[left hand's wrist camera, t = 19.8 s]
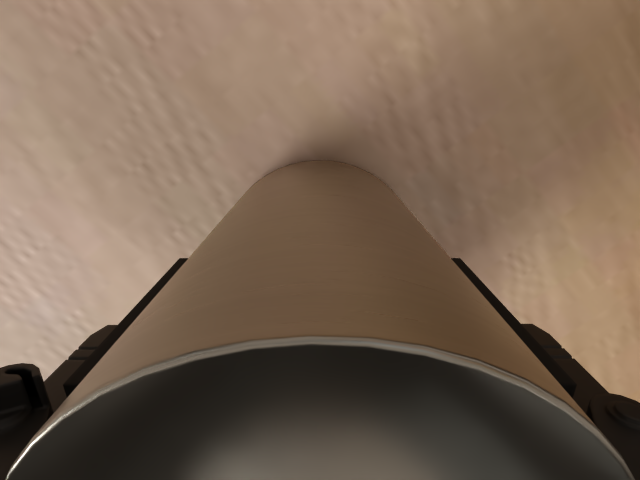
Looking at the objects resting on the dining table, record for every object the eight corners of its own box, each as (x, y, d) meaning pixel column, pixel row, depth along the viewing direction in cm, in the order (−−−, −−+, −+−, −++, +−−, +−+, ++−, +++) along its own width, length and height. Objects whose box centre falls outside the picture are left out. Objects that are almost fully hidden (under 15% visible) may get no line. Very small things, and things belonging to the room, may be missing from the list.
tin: (193, 193, 16) (-181, 447, 4) (392, 133, 15) (670, 234, 3) (261, 354, 19) (163, 772, 7) (430, 312, 18) (646, 709, 6)
